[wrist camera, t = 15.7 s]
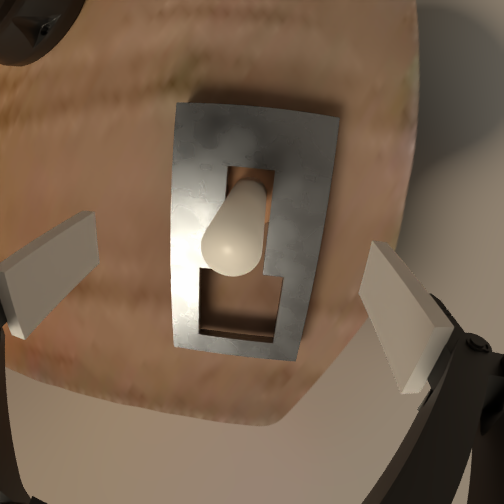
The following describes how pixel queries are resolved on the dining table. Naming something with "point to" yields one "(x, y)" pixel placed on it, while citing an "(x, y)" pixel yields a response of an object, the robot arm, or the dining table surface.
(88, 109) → the dining table surface
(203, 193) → the keyhole plate
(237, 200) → the peg
